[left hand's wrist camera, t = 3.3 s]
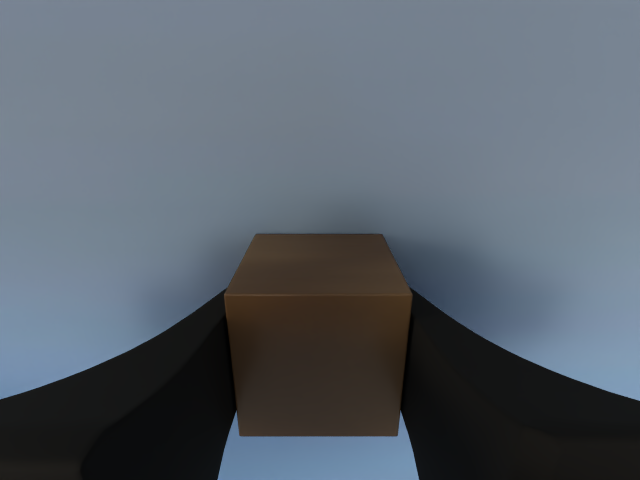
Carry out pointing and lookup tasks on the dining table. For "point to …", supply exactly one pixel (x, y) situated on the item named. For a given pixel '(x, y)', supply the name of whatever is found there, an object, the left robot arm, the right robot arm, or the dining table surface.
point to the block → (318, 336)
